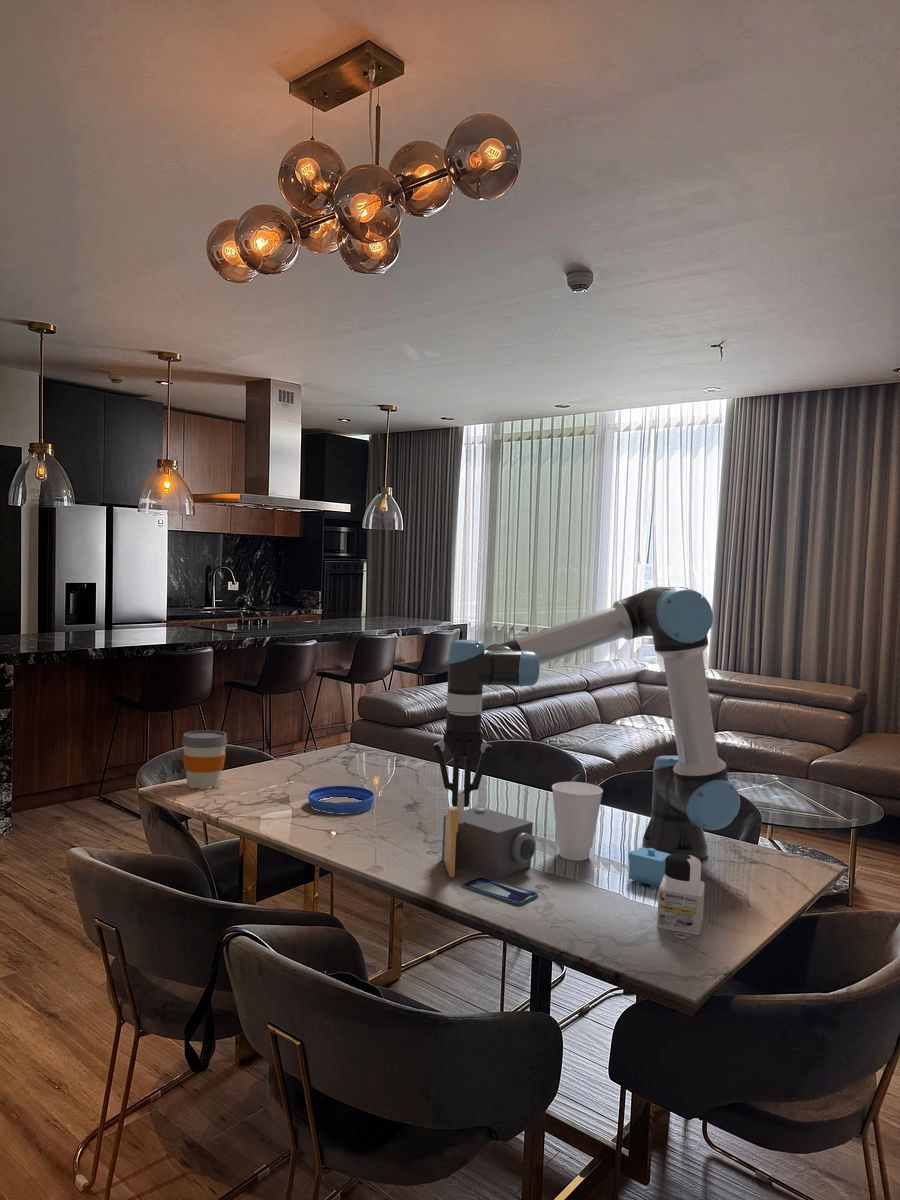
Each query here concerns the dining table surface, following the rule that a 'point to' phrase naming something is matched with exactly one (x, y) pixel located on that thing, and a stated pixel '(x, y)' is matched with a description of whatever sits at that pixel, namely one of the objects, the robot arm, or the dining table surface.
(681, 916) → the container
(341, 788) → the blue flat round ring
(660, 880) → the teapot
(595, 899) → the dining table surface
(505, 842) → the case
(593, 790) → the cup
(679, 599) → the robot arm
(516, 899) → the smartphone
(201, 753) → the reusable coffee cup
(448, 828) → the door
